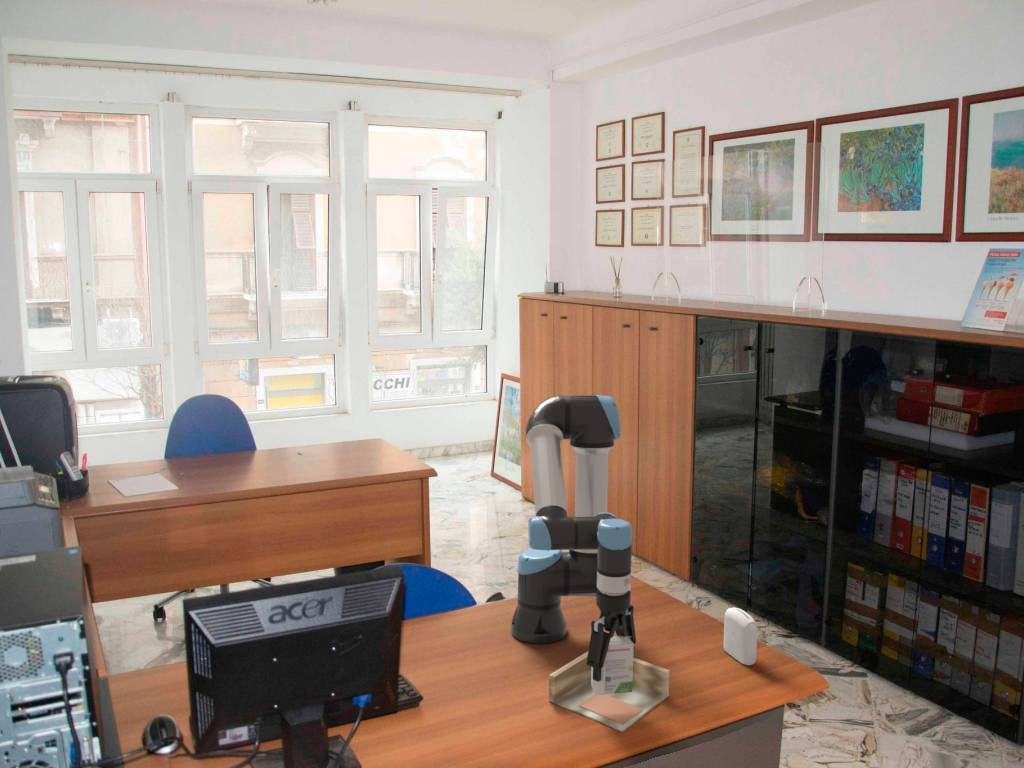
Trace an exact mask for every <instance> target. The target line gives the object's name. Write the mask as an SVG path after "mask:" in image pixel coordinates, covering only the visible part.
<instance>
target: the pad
mask: <svg viewBox="0 0 1024 768" xmlns="http://www.w3.org/2000/svg"><path fill="white" fill-rule="evenodd" d="M579 707H582V708H584V709H587V710H589V711H591V712H594V713H596V714H599V715H601V716H603V717H606V718H608V719H611V720H613V721H615V722H618V723H620V724H623V725H624V724H625V723H626V722H628V721H629V720H630V719H632V718H633V717H634V716H636V715H637V714H638V713H639V712H641V711H642V710H643V709H641V708H638V707H636V706H633V705H631V704H628V703H626V702H623V701H621V700H618V699H616V698H613V697H610V696H608V695H605V694H604V695H596V694H594V695H593V696H591V697H590V698H589V699H587V700H586V701H584V702H583V703H581V704H580V705H579Z"/></svg>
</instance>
